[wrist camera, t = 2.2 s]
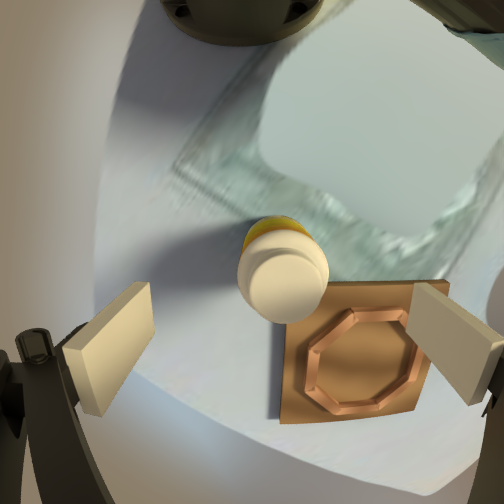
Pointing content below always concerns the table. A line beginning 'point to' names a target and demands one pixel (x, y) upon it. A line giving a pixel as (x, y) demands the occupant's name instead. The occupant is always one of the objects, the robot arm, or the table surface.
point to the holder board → (354, 355)
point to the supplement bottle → (281, 270)
